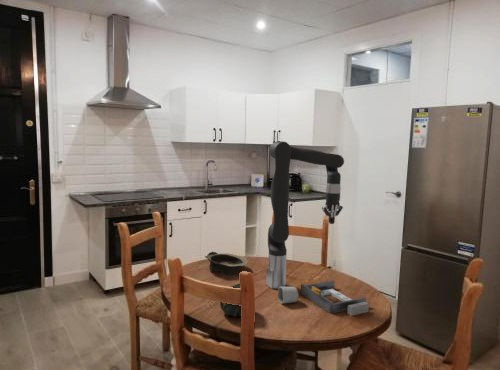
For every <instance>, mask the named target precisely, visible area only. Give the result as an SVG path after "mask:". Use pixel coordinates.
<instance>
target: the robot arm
mask: <svg viewBox="0 0 500 370" xmlns="http://www.w3.org/2000/svg"><path fill="white" fill-rule="evenodd" d="M268 153H269V155H270V156H271V157H272V158H273V159H274V161H275V162H274V163H275V164H274V165H275V168H274V174H273V177H272V181H271V185H270V201H271V208H272V211H273V223H271V224H270V226H269V227H268V231H267V249H268V266H267V267H266V276H265V277H266V278H265V279H266V281H265V282H266V283H265V284H266V286H268V287H269V288H270V289H277V290H278V289H279V287H286V277H287V250H288V249H287V246H286V241H287V240H288V238H289V236H290V227H289V204H290V203H289V201H290V200H289V199H290V167H291V166H290V165H291V160H294V161H299V162H303V163H308V164H312V165H317V166H325V169H326V188H325V205H324V206H321V210H322V211H323V213H324V214H325V216H327V217H328V223H329V224H330V225H333V224H335V222H336V221H335V220H336V217H337V216H339V214H341V212H342V210H343V209H344V207H343V206H342V205H341V204H340V201H341V189H342V188H341V173H340V172H339V170H338V169H339V168H341V167H343V165H344V163H345V160H344V157H343V156H342V155H340V154H336V153H330V152H324V151H321V150H320V151H319V150H314V149H308V148H299V147H294V146H290V144H289V143H288V142H286V141H282V140H281V141H280V140H279V141H274V142H273V143H271V145H270V146H269V149H268Z"/></svg>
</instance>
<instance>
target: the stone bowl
mask: <svg viewBox="0 0 500 370" xmlns="http://www.w3.org/2000/svg"><path fill="white" fill-rule="evenodd" d="M204 258H205V259H207V260H208V261H209V262H210V263H209V271H211V272H221V273H222V275H226V276H229V275H233V274H235V273H239V272H240V270H241V269H242V267H243V266H245V265H247V263H248V259H247V258H245V257H243V256H240V255H237V254H233V253H218V252H216V251H211V252H209V253H208V254H207V255H205V256H204Z"/></svg>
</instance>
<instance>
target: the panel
mask: <svg viewBox="0 0 500 370" xmlns="http://www.w3.org/2000/svg"><path fill="white" fill-rule="evenodd" d="M369 306H370V303H368V302H367V301H366V302H361V303H357V304H352V305H348V310H346V312H347V315H349V316H351V317H353V316H356V315H360V314H365V313H369Z"/></svg>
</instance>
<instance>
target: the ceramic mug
mask: <svg viewBox="0 0 500 370" xmlns="http://www.w3.org/2000/svg"><path fill="white" fill-rule="evenodd" d="M299 295H300V294H299V290H298V288H297V287H295V286H285V287H279V289H277V298H278V302H279V303H280V304H281V305H282V304H292V303H296V302H297V301H298V300H299V297H300V296H299Z"/></svg>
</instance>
